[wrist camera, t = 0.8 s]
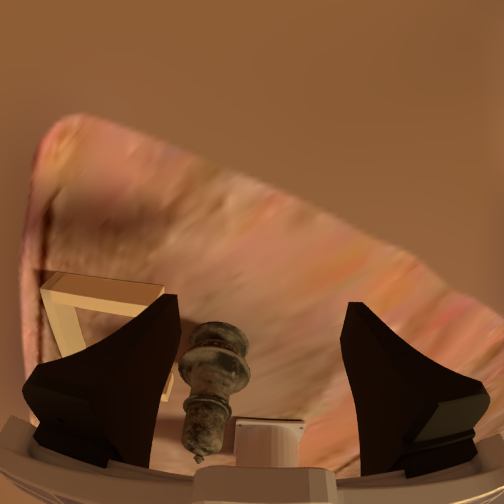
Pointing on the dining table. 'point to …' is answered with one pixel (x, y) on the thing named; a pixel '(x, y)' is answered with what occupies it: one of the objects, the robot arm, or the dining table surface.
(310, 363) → the dining table surface
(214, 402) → the dark bronze turned piece
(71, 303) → the holder
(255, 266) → the dining table surface
